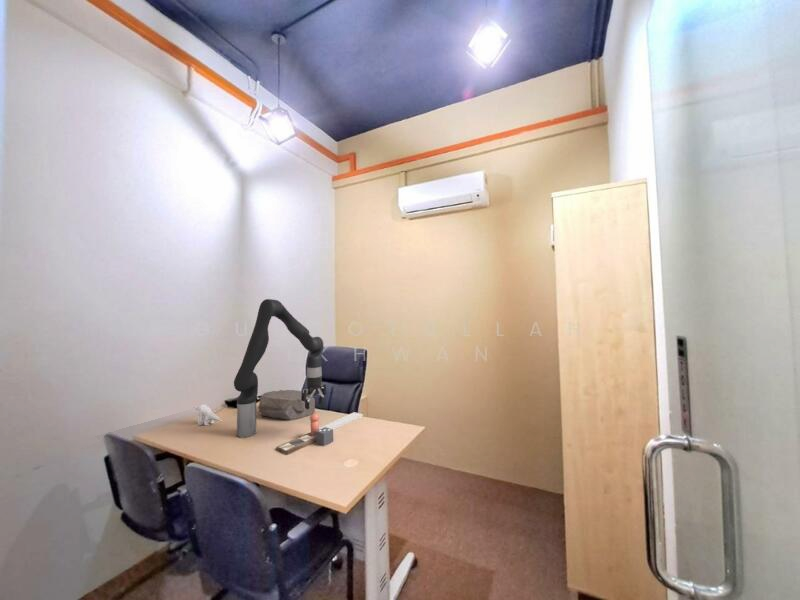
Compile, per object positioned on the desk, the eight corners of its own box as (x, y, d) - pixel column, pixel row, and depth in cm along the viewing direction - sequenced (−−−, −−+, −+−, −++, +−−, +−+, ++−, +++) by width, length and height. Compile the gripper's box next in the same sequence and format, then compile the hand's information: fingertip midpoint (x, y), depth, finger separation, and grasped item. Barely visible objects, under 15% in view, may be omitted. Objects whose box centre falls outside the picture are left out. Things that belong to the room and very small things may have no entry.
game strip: (276, 449, 144) (276, 446, 144) (313, 433, 162) (313, 430, 162) (287, 454, 139) (287, 451, 139) (324, 437, 157) (324, 434, 157)
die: (315, 443, 151) (315, 430, 151) (325, 438, 155) (325, 426, 156) (324, 446, 147) (323, 433, 147) (333, 441, 152) (333, 429, 152)
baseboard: (314, 430, 168) (327, 434, 163) (314, 425, 168) (327, 429, 163) (351, 413, 193) (363, 416, 188) (351, 409, 194) (363, 411, 188)
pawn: (308, 434, 157) (308, 414, 157) (315, 431, 161) (315, 411, 161) (314, 436, 154) (313, 415, 154) (321, 433, 158) (320, 413, 158)
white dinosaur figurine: (198, 418, 187) (200, 400, 186) (227, 427, 178) (229, 408, 178) (187, 422, 180) (189, 404, 180) (217, 431, 172) (218, 412, 172)
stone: (324, 409, 200) (322, 386, 201) (296, 425, 176) (294, 399, 176) (281, 406, 214) (279, 385, 215) (249, 420, 190) (248, 397, 190)
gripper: (320, 372, 166) (320, 401, 166) (298, 377, 155) (298, 409, 154) (329, 373, 162) (329, 404, 161) (307, 379, 150) (307, 411, 150)
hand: (314, 406), depth 158 cm, fingers open, 8 cm apart
